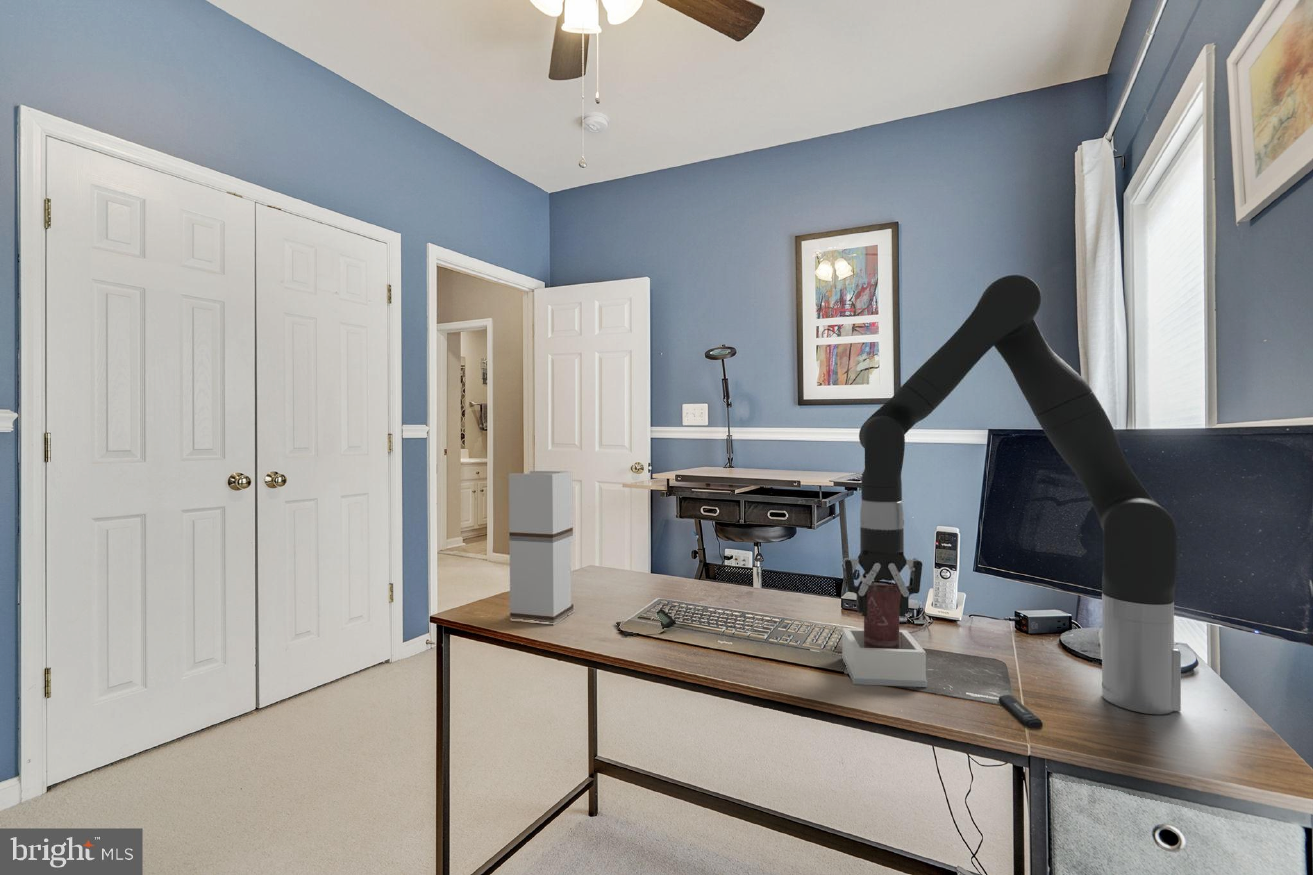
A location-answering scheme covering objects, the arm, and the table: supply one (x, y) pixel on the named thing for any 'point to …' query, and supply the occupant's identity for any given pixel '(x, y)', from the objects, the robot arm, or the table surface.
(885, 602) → the can
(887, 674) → the light grey open box
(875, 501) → the robot arm
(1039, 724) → the usb stick
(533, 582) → the banded grey pillar
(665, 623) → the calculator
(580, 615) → the table surface
